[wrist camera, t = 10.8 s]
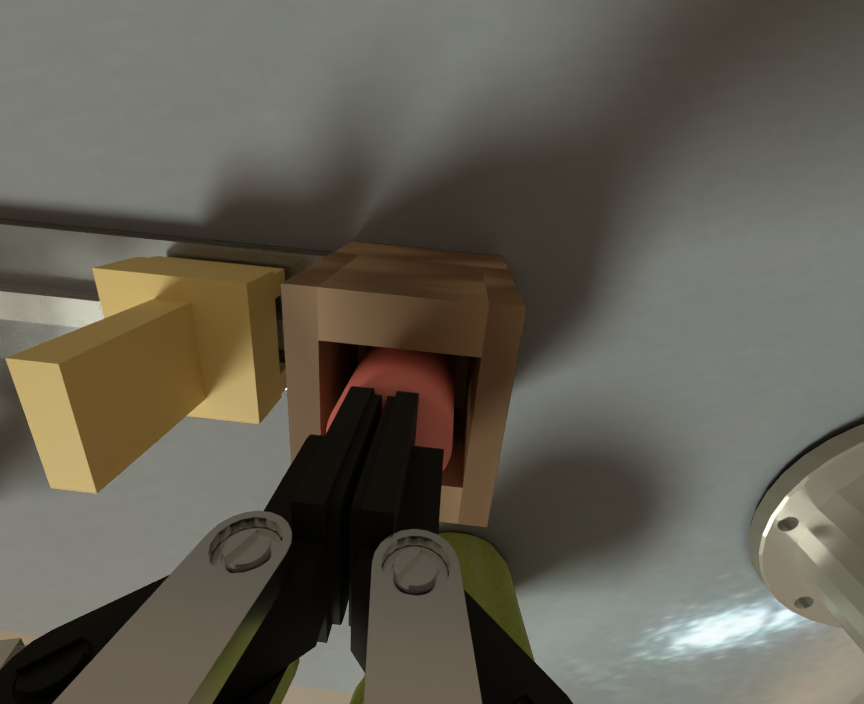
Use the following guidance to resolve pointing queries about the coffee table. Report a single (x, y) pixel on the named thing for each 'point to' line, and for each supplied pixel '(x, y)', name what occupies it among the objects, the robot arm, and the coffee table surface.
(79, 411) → the carriage
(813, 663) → the coffee table surface
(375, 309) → the wooden box
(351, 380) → the plunger
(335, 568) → the robot arm
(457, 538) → the plant pot
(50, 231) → the rail
